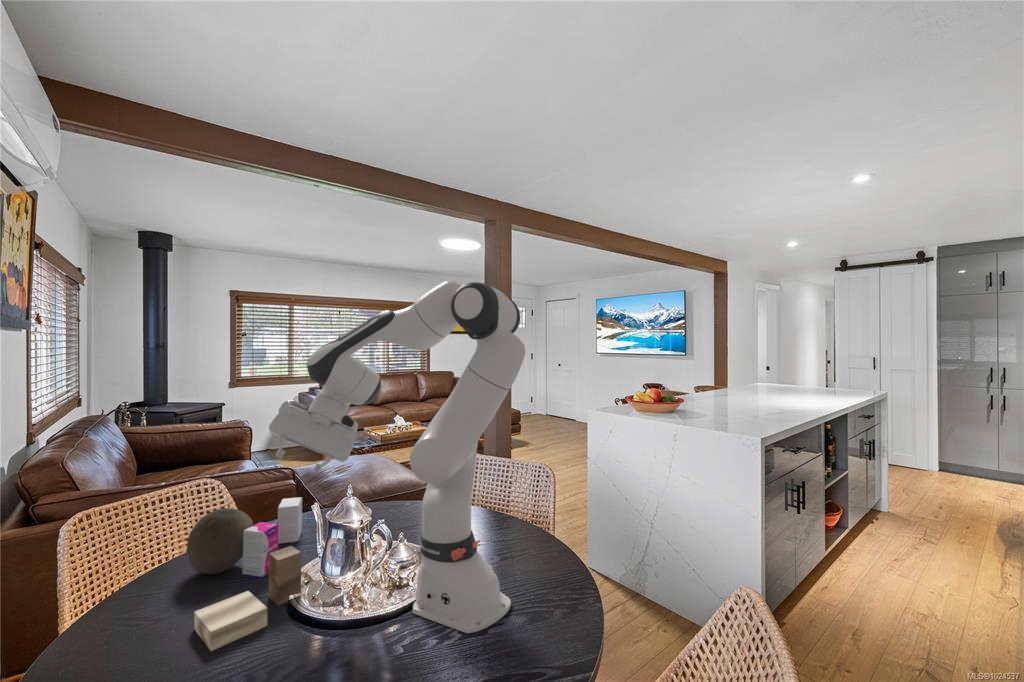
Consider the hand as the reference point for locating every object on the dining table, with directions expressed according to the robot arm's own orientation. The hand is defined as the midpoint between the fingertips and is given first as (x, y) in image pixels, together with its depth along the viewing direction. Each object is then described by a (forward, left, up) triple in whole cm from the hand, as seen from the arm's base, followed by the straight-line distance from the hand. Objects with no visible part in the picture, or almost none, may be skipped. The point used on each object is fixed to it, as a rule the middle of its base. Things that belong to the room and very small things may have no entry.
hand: (297, 464), depth 109 cm
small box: (+27, -11, -29) cm, 41 cm away
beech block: (-7, +16, -29) cm, 34 cm away
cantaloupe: (+21, +9, -29) cm, 37 cm away
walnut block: (-4, +4, -28) cm, 29 cm away
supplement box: (+12, +3, -29) cm, 31 cm away
